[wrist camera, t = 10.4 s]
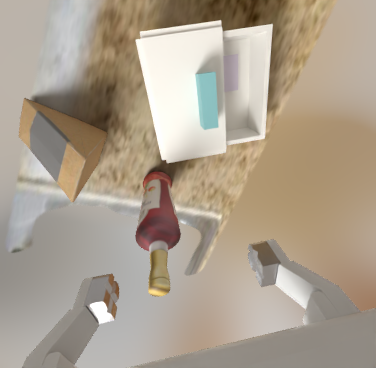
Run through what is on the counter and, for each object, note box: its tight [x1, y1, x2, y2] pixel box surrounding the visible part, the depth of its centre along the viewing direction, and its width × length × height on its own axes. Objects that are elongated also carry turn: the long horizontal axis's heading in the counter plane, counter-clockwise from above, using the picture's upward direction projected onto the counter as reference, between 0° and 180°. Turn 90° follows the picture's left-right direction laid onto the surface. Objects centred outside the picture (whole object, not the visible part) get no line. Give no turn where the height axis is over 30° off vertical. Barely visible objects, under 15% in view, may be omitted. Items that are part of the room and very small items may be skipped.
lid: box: [136, 20, 226, 163], centre depth 32 cm, size 20×13×6 cm, turn 7°
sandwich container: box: [19, 98, 108, 202], centre depth 33 cm, size 9×15×15 cm, turn 62°
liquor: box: [136, 172, 181, 296], centre depth 36 cm, size 7×7×28 cm
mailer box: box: [222, 24, 273, 145], centre depth 37 cm, size 18×11×7 cm, turn 7°
